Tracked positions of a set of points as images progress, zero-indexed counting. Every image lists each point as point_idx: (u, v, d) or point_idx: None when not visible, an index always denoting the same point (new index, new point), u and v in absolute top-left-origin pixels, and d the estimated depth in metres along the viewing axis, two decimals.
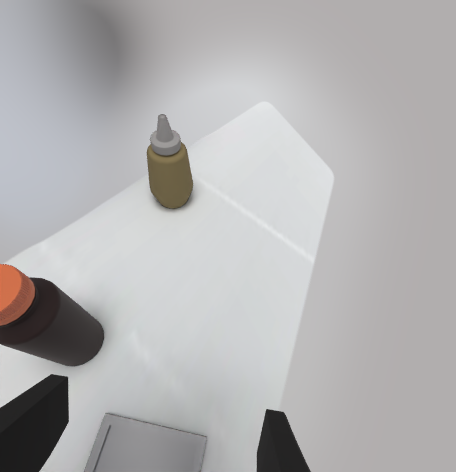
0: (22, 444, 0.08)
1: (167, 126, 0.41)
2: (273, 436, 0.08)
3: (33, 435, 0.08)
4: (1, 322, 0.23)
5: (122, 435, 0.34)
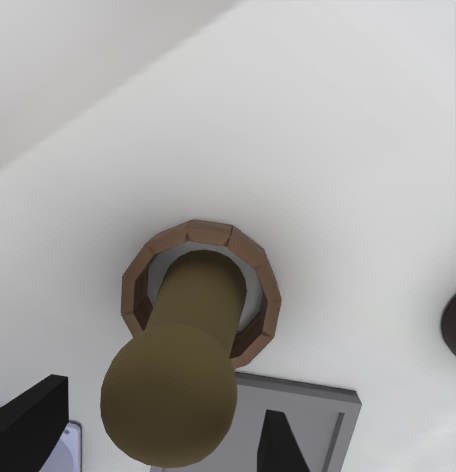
0: (22, 444, 0.08)
1: None
2: (273, 436, 0.08)
3: (33, 435, 0.08)
4: None
5: (326, 421, 0.21)
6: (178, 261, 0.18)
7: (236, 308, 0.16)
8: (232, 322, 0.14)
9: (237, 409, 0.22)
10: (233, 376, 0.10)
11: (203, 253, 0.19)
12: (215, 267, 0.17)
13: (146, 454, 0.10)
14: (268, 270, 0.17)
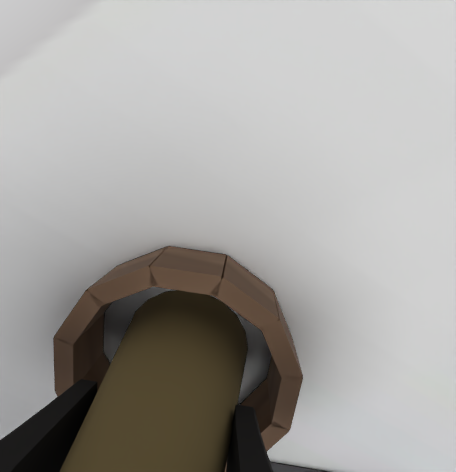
0: (58, 450, 0.08)
1: None
2: (238, 430, 0.08)
3: (67, 441, 0.08)
4: None
5: None
6: (145, 309, 0.12)
7: (231, 400, 0.10)
8: (223, 440, 0.08)
9: None
10: None
11: (182, 297, 0.12)
12: (198, 325, 0.11)
13: None
14: (282, 332, 0.10)
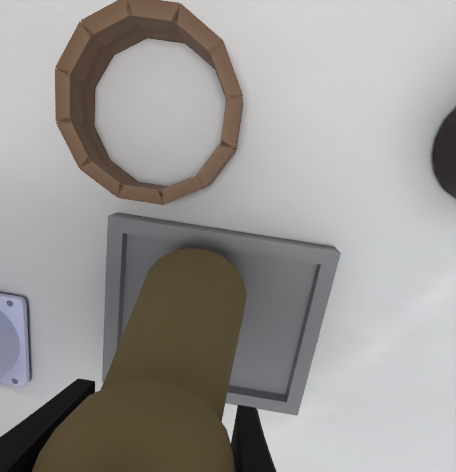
0: None
1: None
2: (240, 431, 0.08)
3: None
4: None
5: (301, 283, 0.19)
6: (157, 265, 0.14)
7: (233, 327, 0.12)
8: (227, 352, 0.11)
9: None
10: (228, 464, 0.07)
11: (188, 253, 0.14)
12: (203, 273, 0.13)
13: None
14: (226, 53, 0.14)
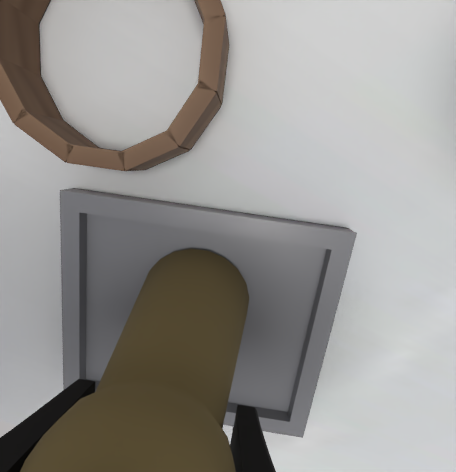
0: None
1: None
2: (240, 431, 0.08)
3: None
4: None
5: (306, 274, 0.15)
6: (157, 266, 0.14)
7: (235, 330, 0.11)
8: (229, 355, 0.10)
9: None
10: None
11: (189, 254, 0.14)
12: (204, 274, 0.13)
13: None
14: None
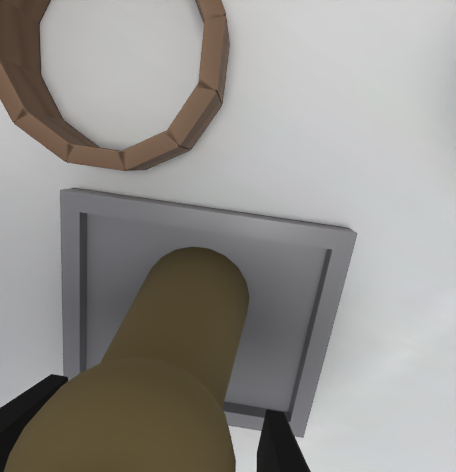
0: None
1: None
2: (273, 436, 0.08)
3: None
4: None
5: (306, 274, 0.15)
6: (159, 262, 0.14)
7: (234, 322, 0.11)
8: (228, 344, 0.10)
9: None
10: (226, 446, 0.06)
11: (191, 251, 0.14)
12: (205, 268, 0.13)
13: None
14: None
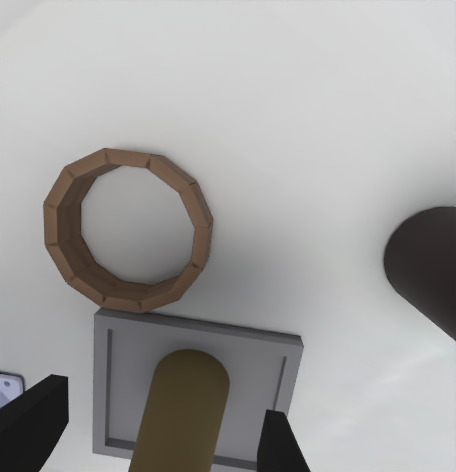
0: (22, 444, 0.08)
1: None
2: (273, 436, 0.08)
3: (33, 435, 0.08)
4: None
5: (271, 368, 0.21)
6: (164, 363, 0.20)
7: (216, 420, 0.17)
8: (211, 442, 0.16)
9: None
10: None
11: (187, 354, 0.20)
12: (196, 375, 0.19)
13: None
14: (192, 194, 0.16)
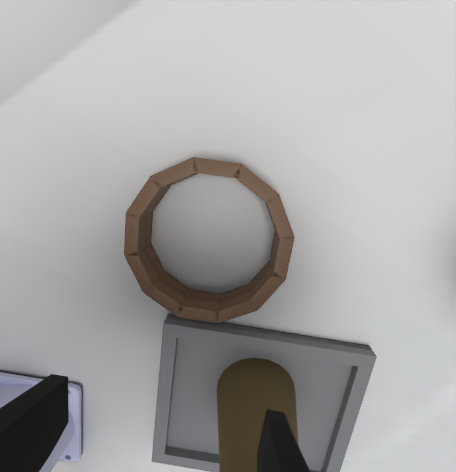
0: (22, 444, 0.08)
1: None
2: (273, 436, 0.08)
3: (33, 435, 0.08)
4: None
5: (338, 378, 0.20)
6: (232, 372, 0.20)
7: (296, 431, 0.17)
8: None
9: None
10: None
11: (255, 364, 0.20)
12: (271, 385, 0.18)
13: None
14: (280, 204, 0.16)
